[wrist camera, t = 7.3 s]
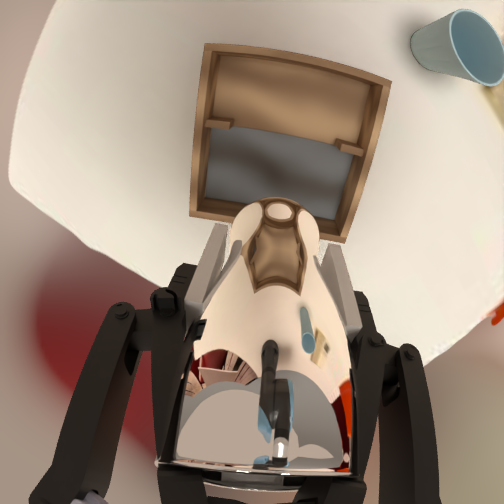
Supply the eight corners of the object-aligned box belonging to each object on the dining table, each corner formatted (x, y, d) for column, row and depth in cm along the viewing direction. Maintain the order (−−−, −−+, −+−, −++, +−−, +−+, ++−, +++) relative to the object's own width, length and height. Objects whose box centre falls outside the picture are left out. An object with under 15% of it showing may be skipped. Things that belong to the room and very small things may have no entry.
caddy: (215, 49, 23) (204, 43, 19) (376, 81, 23) (391, 81, 19) (199, 200, 34) (189, 216, 30) (337, 224, 34) (344, 243, 30)
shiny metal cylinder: (209, 252, 20) (137, 465, 7) (251, 170, 16) (171, 451, 4) (291, 289, 21) (287, 493, 9) (345, 221, 17) (411, 466, 5)
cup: (392, 52, 21) (438, 43, 12) (414, 11, 16) (461, -6, 8) (439, 91, 22) (493, 102, 13) (459, 50, 18) (512, 51, 9)
